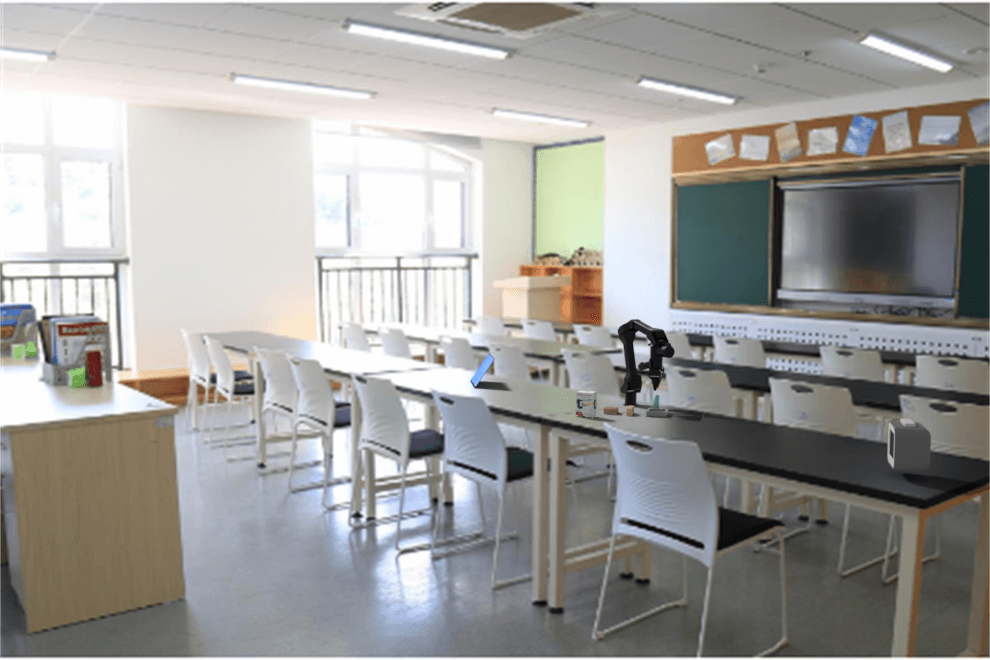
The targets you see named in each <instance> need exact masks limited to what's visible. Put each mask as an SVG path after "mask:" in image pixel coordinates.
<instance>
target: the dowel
mask: <svg viewBox="0 0 990 660" xmlns="http://www.w3.org/2000/svg"><path fill="white" fill-rule="evenodd" d="M652 408H656V409H659V408H660V394H653V395H652Z"/></svg>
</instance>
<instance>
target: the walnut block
mask: <svg viewBox="0 0 990 660" xmlns="http://www.w3.org/2000/svg"><path fill="white" fill-rule="evenodd" d="M603 414H604V415H615V416H617V415H618V414H619V407H618V406H605V407H603Z"/></svg>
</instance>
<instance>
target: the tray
mask: <svg viewBox="0 0 990 660" xmlns="http://www.w3.org/2000/svg"><path fill="white" fill-rule="evenodd" d="M668 415H669V409H668V408H663V409H656V408H653V407H648V409H646V410H645V416H646V418H647V417H648V418H665V419H666V418H667V417H668Z"/></svg>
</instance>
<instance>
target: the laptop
mask: <svg viewBox="0 0 990 660" xmlns="http://www.w3.org/2000/svg"><path fill="white" fill-rule="evenodd" d="M493 362H495V357H494V356H493V355H492V354H491V353H488V354H487V355H486V356H485V358H484V360H482V363H481V364H480V365H479V367H478V368H477V370H476V372H475V373H474V374H473V376H472V377H471V379H470V383H471V385H472V387H473V389H476V387H477V386H478V385H479V383H480V382H481V381H482V379H483V377H484V376H485V374H486V373H487V372H488V370H489V369H490V367H491V366H492V364H493Z"/></svg>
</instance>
